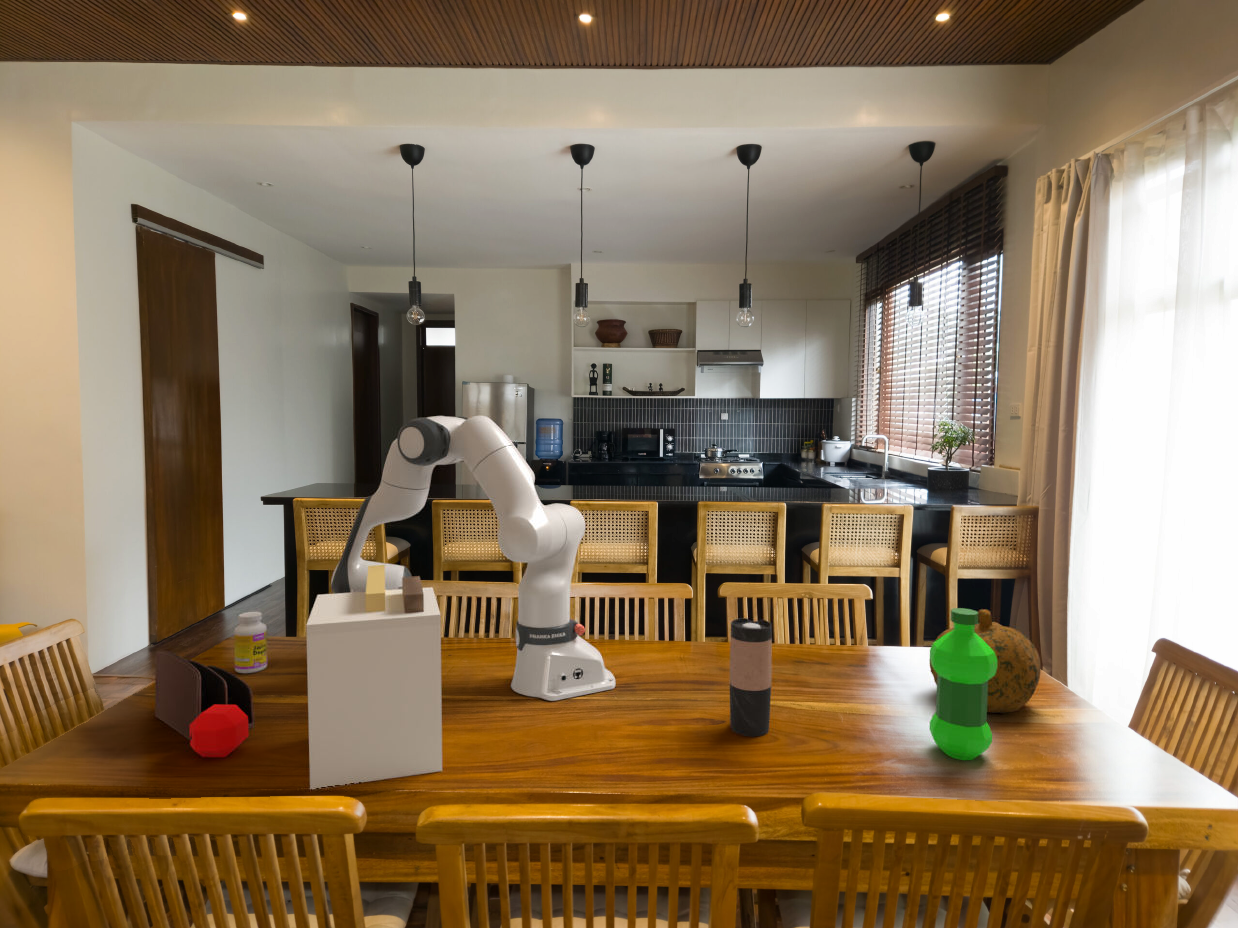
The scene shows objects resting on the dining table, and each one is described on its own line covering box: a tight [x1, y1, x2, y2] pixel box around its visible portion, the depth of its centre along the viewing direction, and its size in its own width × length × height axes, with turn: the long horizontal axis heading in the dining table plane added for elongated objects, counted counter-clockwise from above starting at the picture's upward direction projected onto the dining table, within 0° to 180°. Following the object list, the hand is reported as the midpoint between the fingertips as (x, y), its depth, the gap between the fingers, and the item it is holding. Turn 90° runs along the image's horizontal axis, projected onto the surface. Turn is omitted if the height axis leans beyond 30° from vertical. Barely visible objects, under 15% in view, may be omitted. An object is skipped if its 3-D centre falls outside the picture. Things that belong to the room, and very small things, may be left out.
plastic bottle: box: [929, 607, 997, 761], centre depth 125 cm, size 10×10×25 cm
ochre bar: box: [366, 565, 385, 612], centre depth 130 cm, size 3×24×3 cm, turn 18°
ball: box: [189, 704, 250, 758], centre depth 125 cm, size 8×8×8 cm
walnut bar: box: [402, 575, 424, 613], centre depth 125 cm, size 3×14×3 cm, turn 18°
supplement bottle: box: [233, 611, 268, 674], centre depth 166 cm, size 7×7×13 cm
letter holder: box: [154, 650, 255, 742], centre depth 137 cm, size 10×20×14 cm, turn 51°
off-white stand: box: [305, 586, 443, 791], centre depth 124 cm, size 20×20×26 cm
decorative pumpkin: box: [929, 608, 1041, 714], centre depth 148 cm, size 20×21×20 cm
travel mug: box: [729, 617, 773, 737], centre depth 135 cm, size 8×8×20 cm
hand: (378, 591), depth 152 cm, fingers open, 8 cm apart
